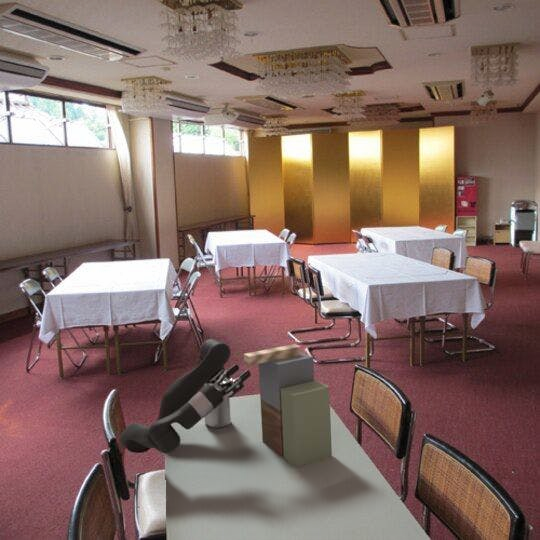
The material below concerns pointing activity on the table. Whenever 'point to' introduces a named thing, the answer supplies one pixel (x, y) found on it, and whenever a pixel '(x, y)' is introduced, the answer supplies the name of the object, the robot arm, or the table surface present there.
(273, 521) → the table surface
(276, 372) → the block
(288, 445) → the olive box
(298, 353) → the birch slat
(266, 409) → the walnut crate
